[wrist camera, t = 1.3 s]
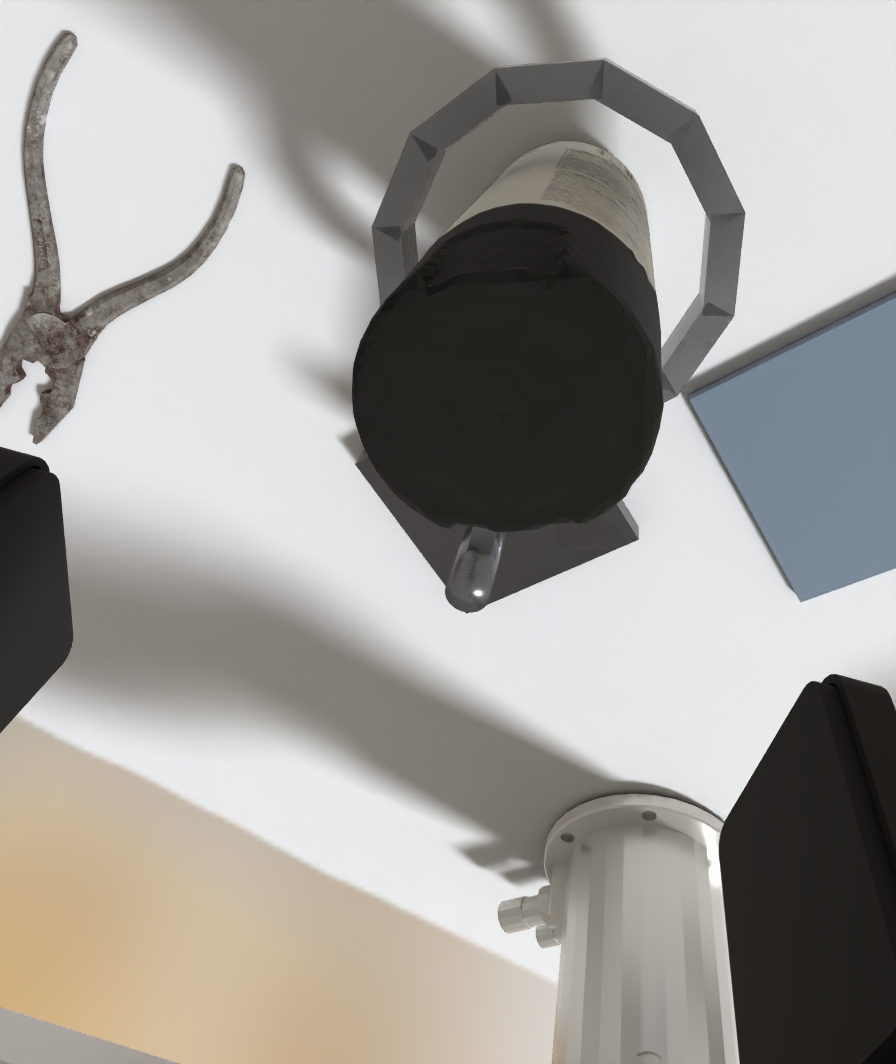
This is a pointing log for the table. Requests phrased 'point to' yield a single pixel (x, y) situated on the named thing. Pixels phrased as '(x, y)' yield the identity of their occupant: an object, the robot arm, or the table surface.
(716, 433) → the mat
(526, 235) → the spray can
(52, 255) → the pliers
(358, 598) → the table surface
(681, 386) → the ring stand
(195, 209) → the table surface
